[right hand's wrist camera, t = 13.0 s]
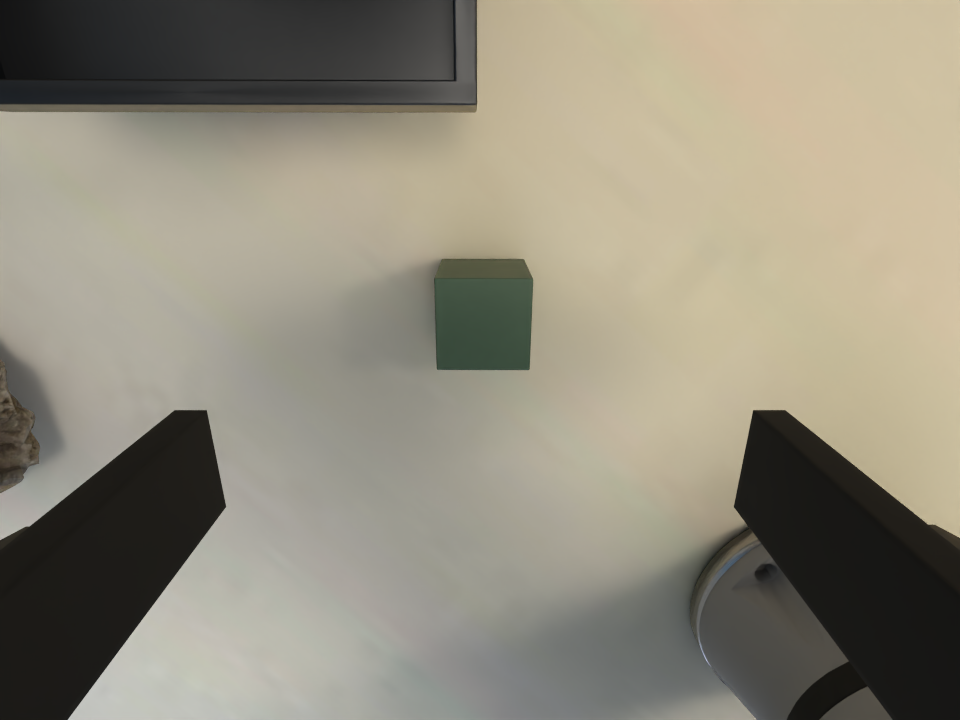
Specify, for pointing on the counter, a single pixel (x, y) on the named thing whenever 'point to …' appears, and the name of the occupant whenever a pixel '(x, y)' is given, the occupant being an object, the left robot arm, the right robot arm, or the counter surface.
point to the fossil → (15, 437)
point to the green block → (483, 314)
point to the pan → (238, 55)
